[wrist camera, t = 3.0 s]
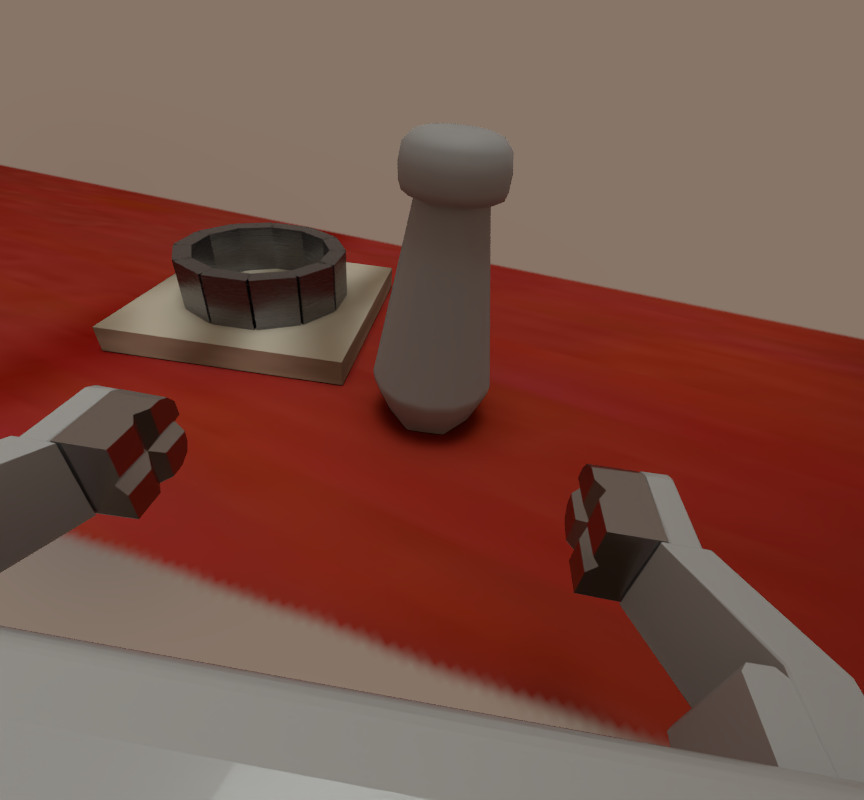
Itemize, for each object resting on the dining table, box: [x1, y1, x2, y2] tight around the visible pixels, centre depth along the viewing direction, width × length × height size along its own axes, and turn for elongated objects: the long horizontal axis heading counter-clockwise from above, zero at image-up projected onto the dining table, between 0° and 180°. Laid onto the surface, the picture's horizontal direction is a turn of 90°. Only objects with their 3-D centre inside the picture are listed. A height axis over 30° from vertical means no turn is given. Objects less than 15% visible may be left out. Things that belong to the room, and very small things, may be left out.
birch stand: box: [93, 262, 392, 385], centre depth 30 cm, size 14×14×2 cm
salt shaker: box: [374, 123, 513, 435], centre depth 20 cm, size 6×6×13 cm
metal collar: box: [172, 223, 347, 330], centre depth 29 cm, size 10×10×3 cm
